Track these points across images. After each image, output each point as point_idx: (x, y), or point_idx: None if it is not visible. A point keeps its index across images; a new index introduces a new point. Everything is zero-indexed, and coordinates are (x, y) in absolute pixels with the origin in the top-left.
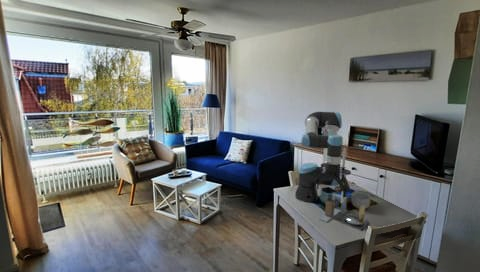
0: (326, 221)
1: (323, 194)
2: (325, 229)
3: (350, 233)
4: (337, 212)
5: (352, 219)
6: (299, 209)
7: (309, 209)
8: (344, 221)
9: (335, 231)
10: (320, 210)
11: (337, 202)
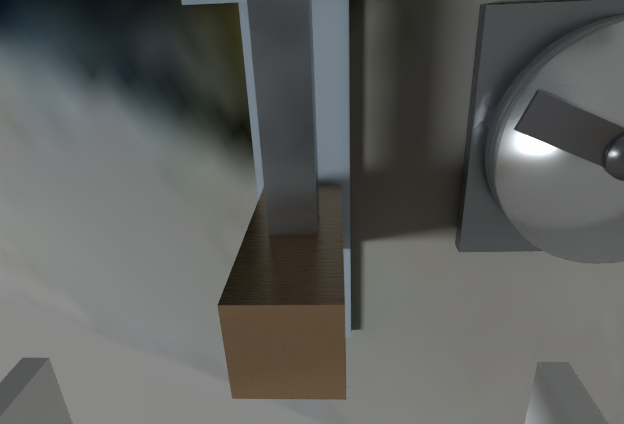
0: (347, 337)
1: None
2: (396, 419)
3: (595, 347)
4: (340, 70)
5: (606, 214)
6: (16, 298)
7: (68, 227)
8: (498, 229)
9: (473, 396)
10: (155, 157)
11: (295, 26)
